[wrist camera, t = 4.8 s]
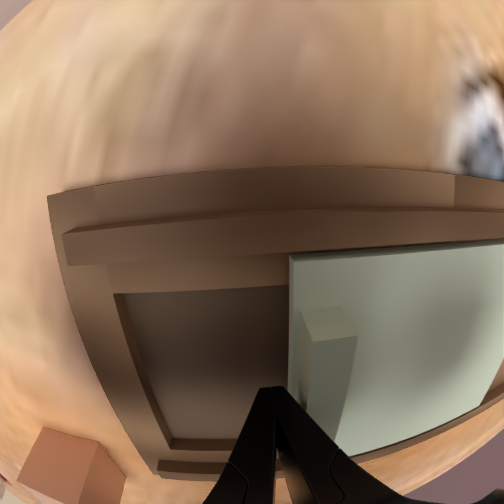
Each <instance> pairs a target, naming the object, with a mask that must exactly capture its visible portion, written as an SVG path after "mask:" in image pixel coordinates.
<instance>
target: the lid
mask: <svg viewBox="0 0 504 504" xmlns="http://www.w3.org/2000/svg"><path fill="white" fill-rule="evenodd" d="M503 359H504V239H494V240H481V241H468V242H455V243H442V244H429V245H415V246H401V247H388V248H374V249H360V250H345V251H331V252H317V253H302V254H289V357H288V390H287V391H288V392H289V393H290V394H291V395H292V396H293V397H294V399H295V400H296V401H297V402H298V403H299V404H300V405H301V406H302V408H303V409H304V410H305V411H306V412H307V413H308V414H309V415H310V416H311V418H312V419H313V420H314V421H315V422H316V423H317V424H318V425H319V426H320V427H321V428H322V429H323V430H324V432H325V433H326V434H327V435H328V436H329V437H330V438H331V439H332V440H333V441H334V442H335V443H336V444H337V445H338V446H339V448H341V449H342V450H343V451H344V452H345V453H346V454H347V455H348V456H352V455H356V454H360V453H364V452H367V451H371V450H374V449H377V448H381V447H384V446H387V445H390V444H393V443H396V442H399V441H402V440H405V439H407V438H410V437H413V436H415V435H418V434H420V433H423V432H425V431H428V430H430V429H432V428H435V427H437V426H439V425H442V424H444V423H446V422H448V421H450V420H452V419H454V418H456V417H458V416H460V415H462V414H464V413H466V412H468V411H470V410H472V409H474V408H476V407H477V406H479V405H480V403H481V401H482V400H483V398H484V396H485V394H486V393H487V391H488V389H489V387H490V385H491V383H492V381H493V379H494V377H495V375H496V373H497V371H498V369H499V367H500V365H501V363H502V361H503Z"/></svg>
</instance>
